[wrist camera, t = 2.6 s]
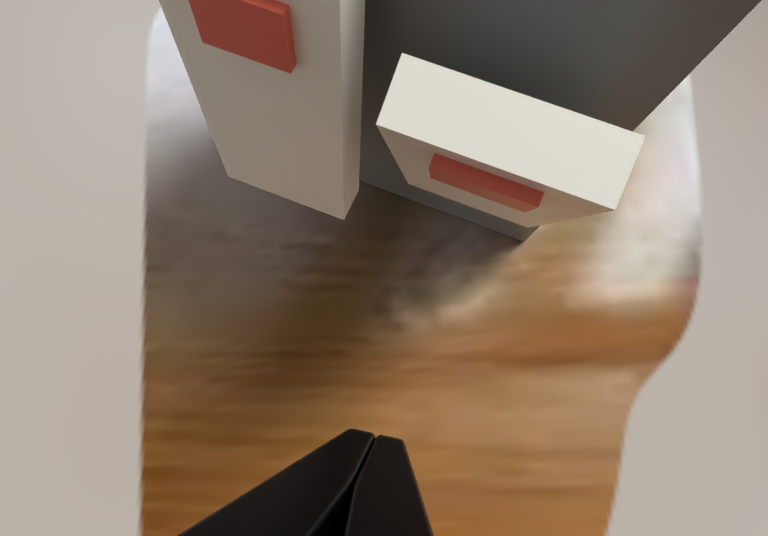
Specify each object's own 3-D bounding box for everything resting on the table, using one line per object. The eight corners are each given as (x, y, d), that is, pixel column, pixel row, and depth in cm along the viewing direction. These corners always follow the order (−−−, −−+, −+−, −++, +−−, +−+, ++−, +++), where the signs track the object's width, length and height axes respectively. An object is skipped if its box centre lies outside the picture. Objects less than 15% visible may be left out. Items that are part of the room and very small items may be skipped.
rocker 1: (340, 227, 16) (333, -4, 8) (223, 183, 16) (116, -76, 9) (358, 190, 16) (366, -57, 9) (245, 148, 16) (163, -123, 9)
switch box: (524, 241, 21) (779, -19, 7) (281, 151, 22) (95, -228, 8) (560, 137, 22) (847, -268, 8) (326, 55, 23) (229, -429, 9)
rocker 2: (524, 235, 16) (608, 226, 8) (405, 191, 16) (370, 140, 8) (542, 191, 16) (646, 136, 8) (421, 148, 16) (402, 52, 8)
